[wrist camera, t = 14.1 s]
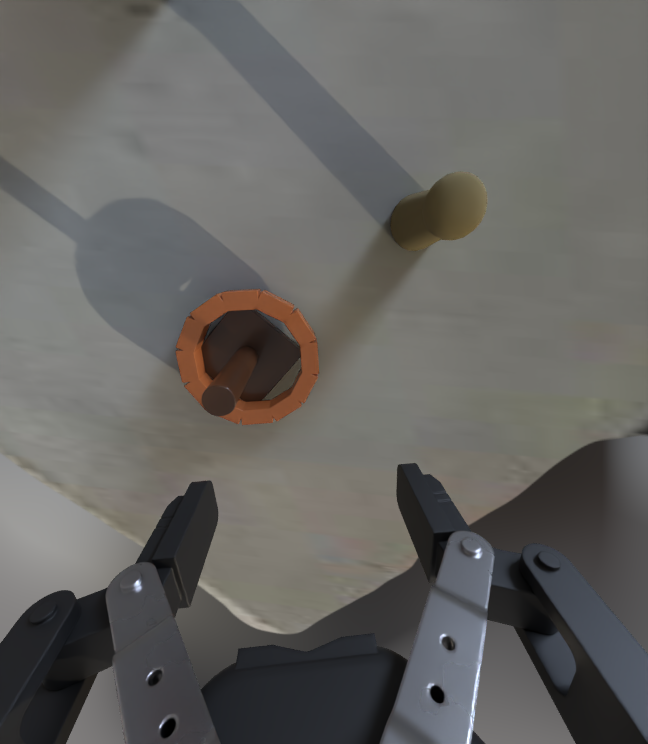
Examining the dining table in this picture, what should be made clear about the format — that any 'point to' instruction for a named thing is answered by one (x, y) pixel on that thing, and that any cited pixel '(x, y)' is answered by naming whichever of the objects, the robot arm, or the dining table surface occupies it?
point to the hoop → (272, 306)
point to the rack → (244, 360)
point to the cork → (440, 212)
